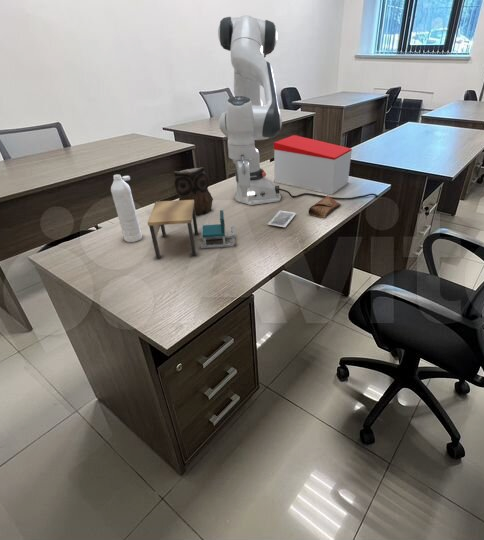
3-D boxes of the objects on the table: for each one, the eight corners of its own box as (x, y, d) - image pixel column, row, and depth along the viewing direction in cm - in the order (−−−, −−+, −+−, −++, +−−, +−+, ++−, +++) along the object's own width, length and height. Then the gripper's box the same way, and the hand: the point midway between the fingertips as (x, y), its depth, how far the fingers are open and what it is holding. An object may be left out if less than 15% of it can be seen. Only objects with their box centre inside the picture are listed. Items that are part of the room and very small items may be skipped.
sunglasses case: (325, 217, 148) (319, 203, 146) (312, 222, 153) (306, 208, 151) (342, 204, 161) (336, 190, 159) (329, 208, 165) (324, 195, 164)
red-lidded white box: (292, 171, 203) (293, 134, 191) (347, 182, 187) (352, 143, 175) (273, 181, 188) (273, 142, 176) (331, 194, 172) (335, 152, 161)
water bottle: (120, 240, 132) (102, 176, 118) (133, 233, 136) (117, 171, 123) (137, 245, 128) (121, 180, 115) (150, 237, 133) (135, 174, 120)
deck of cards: (296, 215, 151) (296, 210, 150) (285, 229, 140) (285, 224, 138) (279, 212, 154) (279, 208, 152) (267, 226, 142) (267, 221, 141)
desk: (198, 233, 137) (194, 199, 129) (196, 256, 122) (190, 219, 114) (162, 235, 135) (155, 201, 127) (156, 259, 120) (147, 222, 112)
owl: (215, 209, 156) (210, 165, 145) (199, 220, 146) (192, 174, 135) (192, 205, 160) (185, 162, 149) (175, 215, 151) (167, 170, 140)
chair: (234, 236, 134) (232, 209, 128) (235, 246, 128) (233, 218, 122) (202, 238, 133) (198, 211, 126) (201, 248, 126) (197, 220, 120)
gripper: (253, 159, 105) (255, 202, 113) (248, 144, 122) (250, 182, 130) (233, 160, 104) (236, 203, 112) (231, 144, 121) (233, 182, 129)
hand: (243, 191), depth 121 cm, fingers open, 8 cm apart
